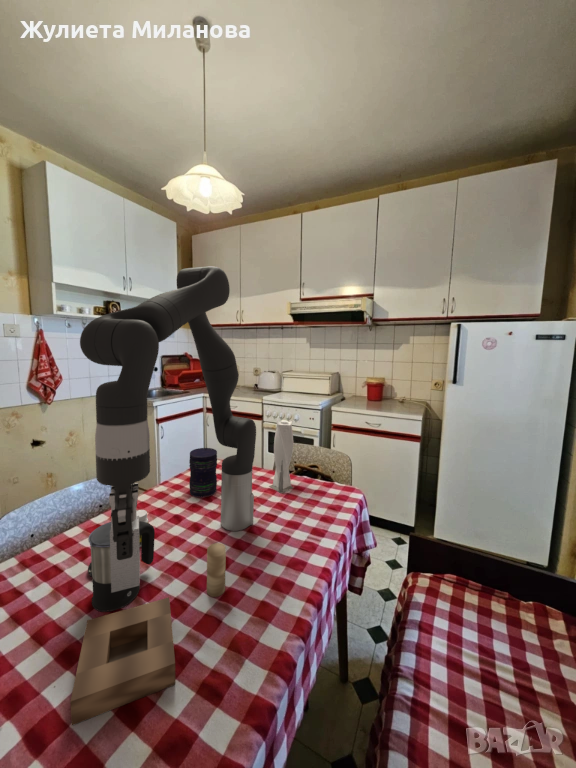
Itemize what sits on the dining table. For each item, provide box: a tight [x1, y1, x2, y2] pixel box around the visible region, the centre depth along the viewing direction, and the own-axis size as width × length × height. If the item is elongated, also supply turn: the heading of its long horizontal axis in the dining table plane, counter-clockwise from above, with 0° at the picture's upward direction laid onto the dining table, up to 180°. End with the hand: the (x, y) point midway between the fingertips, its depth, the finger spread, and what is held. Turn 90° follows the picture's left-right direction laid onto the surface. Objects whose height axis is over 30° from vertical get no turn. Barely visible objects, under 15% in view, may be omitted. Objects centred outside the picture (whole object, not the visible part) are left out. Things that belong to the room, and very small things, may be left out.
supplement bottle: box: [136, 509, 150, 548], centre depth 84 cm, size 5×5×8 cm
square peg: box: [110, 516, 141, 593], centre depth 51 cm, size 4×4×10 cm
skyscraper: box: [268, 415, 295, 494], centre depth 120 cm, size 8×8×28 cm
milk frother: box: [87, 521, 156, 613], centre depth 69 cm, size 14×16×15 cm
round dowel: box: [206, 542, 227, 598], centre depth 69 cm, size 4×4×10 cm
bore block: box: [69, 596, 176, 726], centre depth 53 cm, size 14×14×4 cm
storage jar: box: [188, 447, 218, 498], centre depth 114 cm, size 10×10×15 cm
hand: (125, 548), depth 51 cm, fingers closed on square peg, 4 cm apart
